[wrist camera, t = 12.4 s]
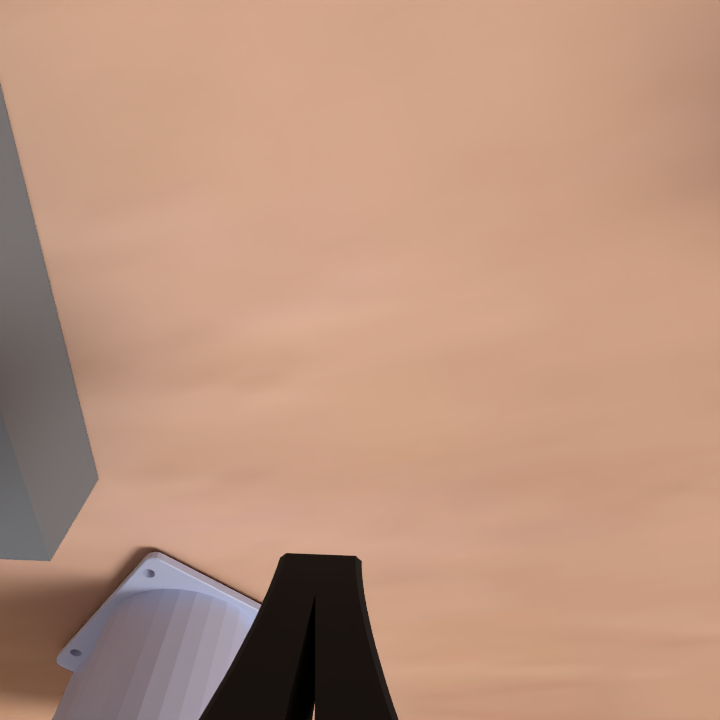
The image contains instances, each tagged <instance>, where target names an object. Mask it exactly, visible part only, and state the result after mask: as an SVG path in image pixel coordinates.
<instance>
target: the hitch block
mask: <svg viewBox="0 0 720 720" xmlns="http://www.w3.org/2000/svg"><path fill="white" fill-rule="evenodd" d="M97 481H98V475H97V471H96V467H95V463H94V459H93V455H92V451H91V447H90V443H89V439H88V435H87V431H86V427H85V423H84V419H83V415H82V411H81V407H80V403H79V399H78V395H77V391H76V387H75V383H74V379H73V375H72V371H71V366H70V362H69V358H68V354H67V350H66V346H65V342H64V338H63V334H62V330H61V326H60V322H59V318H58V314H57V310H56V306H55V302H54V298H53V294H52V290H51V286H50V282H49V278H48V274H47V270H46V266H45V262H44V258H43V254H42V250H41V246H40V242H39V238H38V234H37V230H36V226H35V222H34V218H33V213H32V209H31V205H30V201H29V197H28V193H27V189H26V185H25V181H24V177H23V173H22V169H21V165H20V161H19V157H18V153H17V149H16V145H15V141H14V137H13V133H12V129H11V125H10V121H9V117H8V113H7V109H6V105H5V101H4V97H3V93H2V89H1V85H0V559H12V560H37V561H51V559H52V557H53V556H54V554H55V552H56V551H57V549H58V547H59V545H60V544H61V542H62V540H63V539H64V537H65V535H66V534H67V532H68V530H69V528H70V527H71V525H72V523H73V522H74V520H75V518H76V517H77V515H78V513H79V512H80V510H81V508H82V506H83V505H84V503H85V501H86V500H87V498H88V496H89V495H90V493H91V491H92V490H93V488H94V486H95V484H96V483H97Z"/></svg>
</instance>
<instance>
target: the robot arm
mask: <svg viewBox="0 0 720 720" xmlns="http://www.w3.org/2000/svg"><path fill="white" fill-rule="evenodd" d="M56 661H57V663H58V665H59V666H61V667H63V668H65V669H68V670H70V671H72V672H73V675H72V677H71V679H70V681H69V683H68V686H67V688H66V690H65V692H64V694H63V696H62V699H61V701H60V703H59V705H58V707H57V710H56V712H55V714H54V716H53V718H52V720H312V716H313V710H314V704H315V720H398V717H397V714H396V711H395V708H394V706H393V703H392V699H391V696H390V693H389V690H388V687H387V684H386V680H385V677H384V674H383V670H382V667H381V663H380V660H379V656H378V653H377V649H376V646H375V642H374V638H373V634H372V630H371V625H370V621H369V616H368V611H367V607H366V601H365V595H364V588H363V580H362V561H361V560H360V559H358V558H357V557H356V556H343V555H318V554H292V553H286V554H285V555H283V556H282V557H280V560H279V563H278V566H277V569H276V571H275V574H274V577H273V579H272V582H271V584H270V587H269V589H268V591H267V594H266V596H265V598H264V600H263V603H262V605H261V604H259V603H257V602H255V601H253V600H251V599H250V598H248V597H246V596H244V595H242V594H240V593H238V592H236V591H234V590H232V589H230V588H228V587H226V586H224V585H223V584H221V583H219V582H217V581H215V580H213V579H211V578H209V577H207V576H205V575H203V574H201V573H199V572H197V571H195V570H194V569H192V568H190V567H188V566H186V565H184V564H182V563H180V562H178V561H176V560H174V559H172V558H170V557H168V556H166V555H165V554H162V553H160V552H151V553H149V554H147V555H146V556H145V557H144V558H143V560H142V561H141V562H140V563H139V564H138V565H137V566H136V567H135V568H134V570H133V571H132V572H131V573H130V574H129V575H128V576H127V577H126V579H125V580H124V581H123V582H122V583H121V584H120V585H119V586H118V587H117V589H116V590H115V591H114V592H113V593H112V594H111V595H110V596H109V598H108V599H107V600H106V601H105V602H104V603H103V604H102V605H101V606H100V608H99V609H98V610H97V611H96V612H95V613H94V614H93V615H92V617H91V618H90V619H89V620H88V621H87V622H86V623H85V624H84V625H83V627H82V628H81V629H80V630H79V631H78V632H77V633H76V634H75V636H74V637H73V638H72V639H71V640H70V641H69V642H68V643H67V644H66V646H65V647H64V648H63V649H62V650H61V651H60V653H59V655H58V657H57V659H56Z"/></svg>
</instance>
